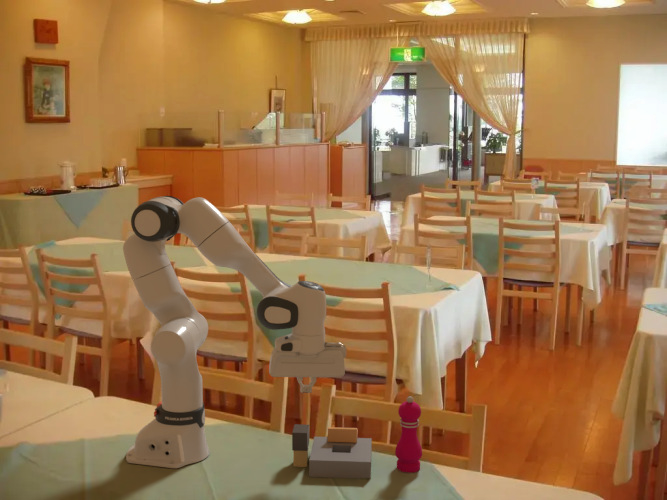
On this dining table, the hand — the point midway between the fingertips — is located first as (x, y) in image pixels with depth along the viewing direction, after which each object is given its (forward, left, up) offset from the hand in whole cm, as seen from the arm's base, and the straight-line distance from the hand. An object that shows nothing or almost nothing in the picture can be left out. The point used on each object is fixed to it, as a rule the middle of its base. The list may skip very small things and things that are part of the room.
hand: (305, 392), depth 218 cm
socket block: (+10, -1, -20) cm, 22 cm away
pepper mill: (+28, -2, -20) cm, 34 cm away
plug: (-1, -1, -20) cm, 20 cm away
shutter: (+10, +7, -15) cm, 19 cm away
